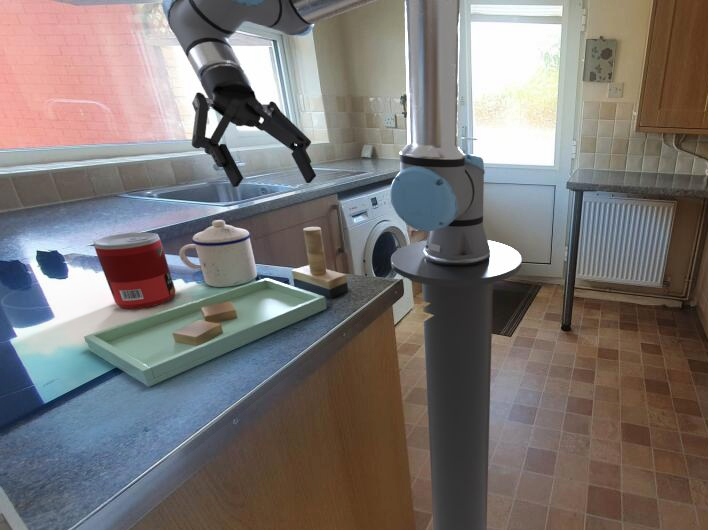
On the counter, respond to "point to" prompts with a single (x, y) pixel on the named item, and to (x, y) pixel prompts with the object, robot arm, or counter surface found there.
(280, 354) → the counter surface
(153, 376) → the tray
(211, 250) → the teacup with lid
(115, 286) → the canned food
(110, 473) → the counter surface
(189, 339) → the cork piece
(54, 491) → the counter surface
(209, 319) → the cork piece
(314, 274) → the brush
